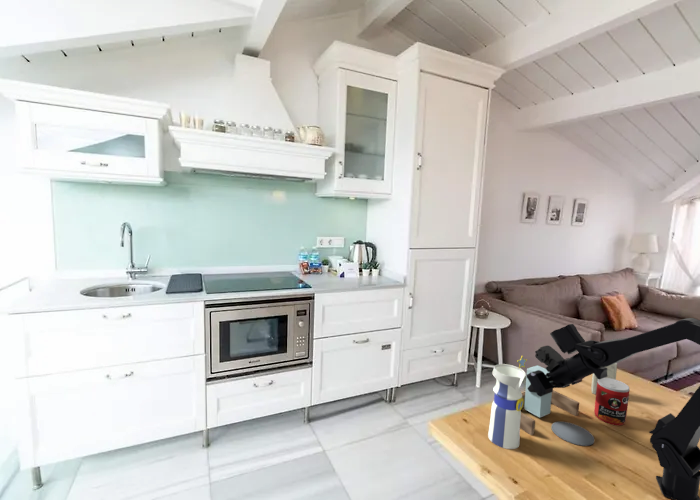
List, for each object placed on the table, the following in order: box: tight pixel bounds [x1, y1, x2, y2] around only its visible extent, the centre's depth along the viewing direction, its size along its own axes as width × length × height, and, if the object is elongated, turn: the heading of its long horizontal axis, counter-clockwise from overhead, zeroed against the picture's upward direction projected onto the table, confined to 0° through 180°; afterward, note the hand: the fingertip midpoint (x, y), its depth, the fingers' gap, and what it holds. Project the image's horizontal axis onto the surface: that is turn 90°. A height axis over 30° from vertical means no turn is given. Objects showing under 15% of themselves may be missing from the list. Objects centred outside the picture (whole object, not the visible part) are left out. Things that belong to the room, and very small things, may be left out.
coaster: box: [550, 420, 595, 447], centre depth 95 cm, size 10×10×1 cm
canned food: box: [593, 378, 630, 427], centre depth 102 cm, size 8×8×11 cm
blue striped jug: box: [487, 355, 528, 450], centre depth 90 cm, size 8×9×25 cm
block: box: [523, 365, 553, 418], centre depth 103 cm, size 5×5×13 cm
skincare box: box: [591, 363, 618, 395], centre depth 117 cm, size 6×4×12 cm
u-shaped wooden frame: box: [520, 389, 580, 436], centre depth 104 cm, size 11×22×4 cm, turn 118°
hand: (534, 388), depth 104 cm, fingers closed on block, 5 cm apart
